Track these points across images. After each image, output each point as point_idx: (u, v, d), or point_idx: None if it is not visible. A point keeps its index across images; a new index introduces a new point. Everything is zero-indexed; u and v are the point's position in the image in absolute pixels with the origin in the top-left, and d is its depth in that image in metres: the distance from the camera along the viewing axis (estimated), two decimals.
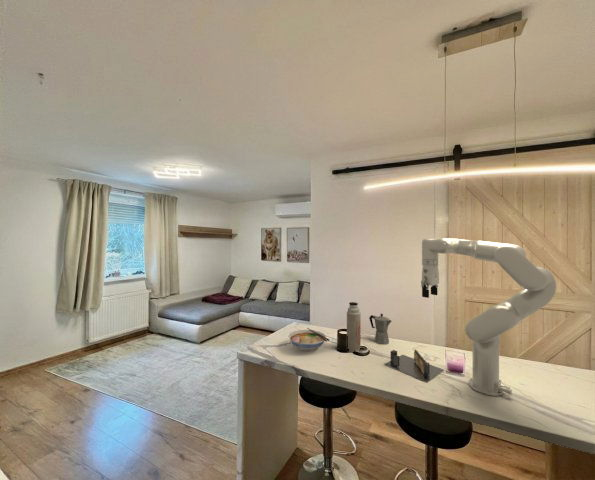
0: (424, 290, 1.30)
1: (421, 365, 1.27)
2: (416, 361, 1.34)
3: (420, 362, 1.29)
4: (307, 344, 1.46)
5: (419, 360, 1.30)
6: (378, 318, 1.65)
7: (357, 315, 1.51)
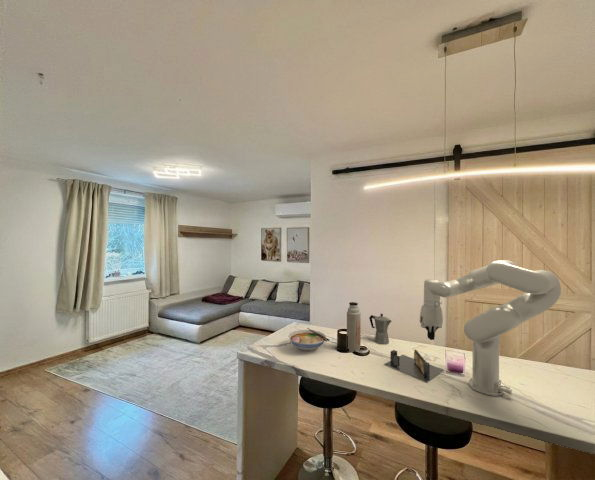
0: None
1: (421, 365, 1.27)
2: (416, 361, 1.34)
3: (420, 362, 1.29)
4: (307, 344, 1.46)
5: (419, 360, 1.30)
6: (378, 318, 1.65)
7: (357, 315, 1.51)
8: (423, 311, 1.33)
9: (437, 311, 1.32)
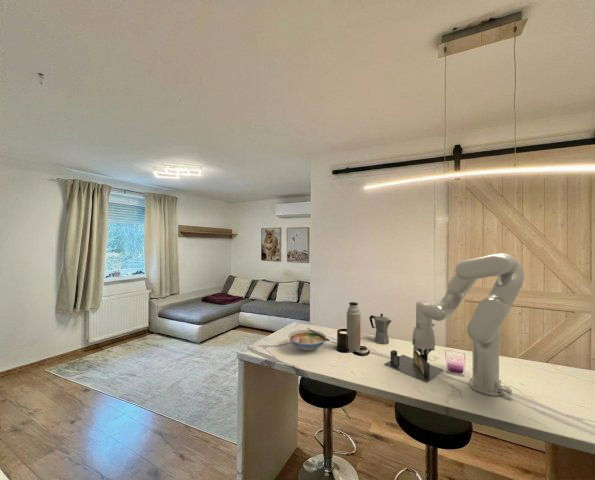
0: None
1: (421, 365, 1.27)
2: (415, 361, 1.34)
3: (420, 362, 1.29)
4: (307, 344, 1.46)
5: (419, 360, 1.30)
6: (378, 318, 1.65)
7: (357, 315, 1.51)
8: (415, 334, 1.33)
9: (429, 334, 1.31)
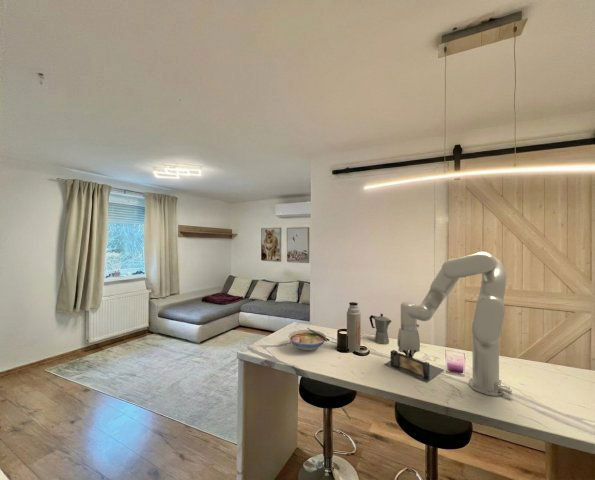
0: None
1: (416, 366, 1.26)
2: (402, 364, 1.31)
3: (413, 364, 1.27)
4: (307, 344, 1.46)
5: (410, 362, 1.28)
6: (378, 318, 1.65)
7: (357, 315, 1.51)
8: (400, 335, 1.32)
9: (414, 335, 1.31)
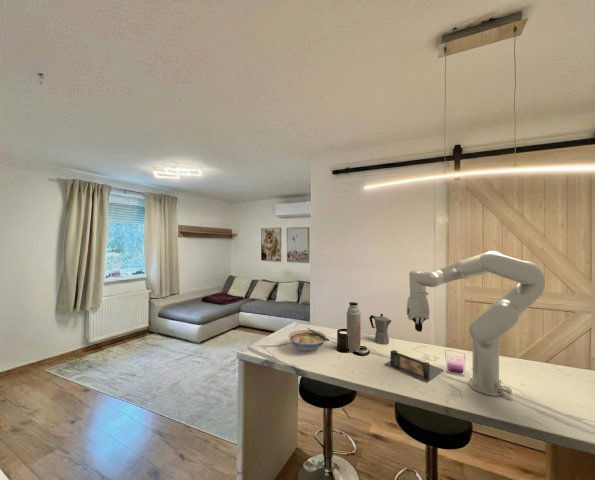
0: None
1: (416, 367, 1.26)
2: (402, 364, 1.31)
3: (413, 364, 1.27)
4: (307, 344, 1.46)
5: (410, 362, 1.28)
6: (378, 318, 1.65)
7: (357, 315, 1.51)
8: (409, 303, 1.32)
9: (423, 302, 1.31)
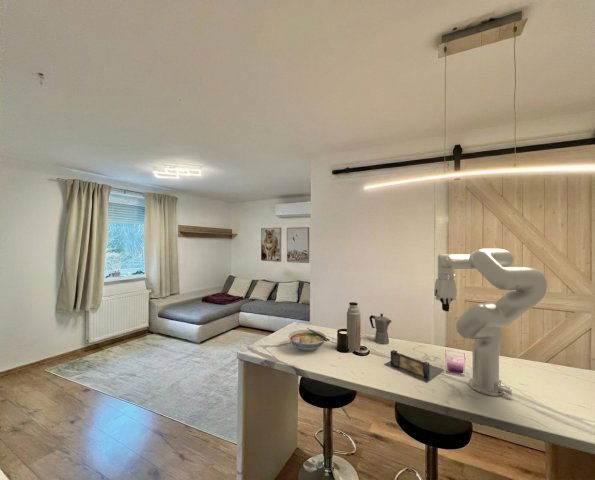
0: None
1: (416, 367, 1.26)
2: (402, 364, 1.31)
3: (413, 364, 1.27)
4: (307, 344, 1.46)
5: (410, 362, 1.28)
6: (378, 318, 1.65)
7: (357, 315, 1.51)
8: (437, 284, 1.39)
9: (451, 283, 1.38)
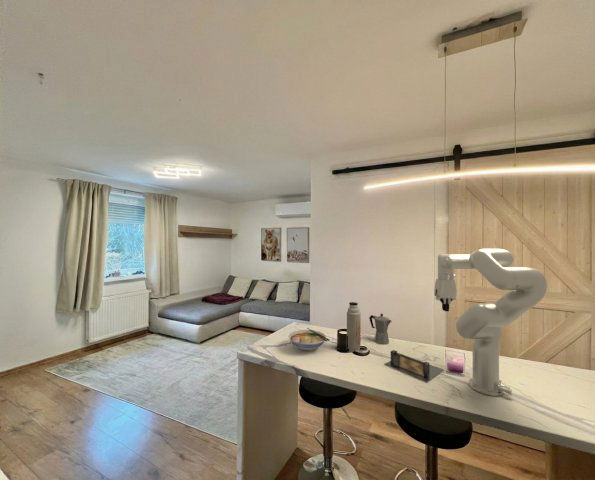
0: None
1: (416, 367, 1.26)
2: (402, 364, 1.31)
3: (413, 364, 1.27)
4: (307, 344, 1.46)
5: (410, 362, 1.28)
6: (378, 318, 1.65)
7: (357, 315, 1.51)
8: (438, 284, 1.39)
9: (451, 283, 1.38)
